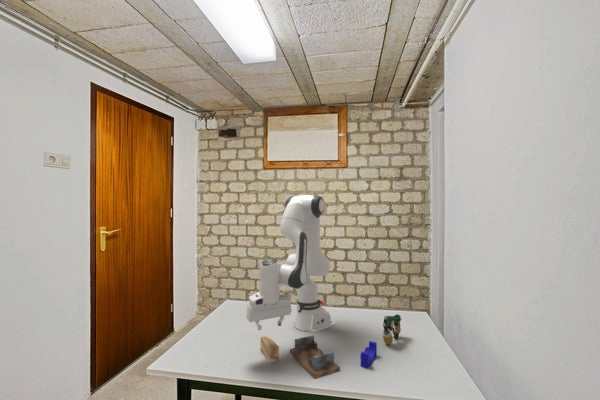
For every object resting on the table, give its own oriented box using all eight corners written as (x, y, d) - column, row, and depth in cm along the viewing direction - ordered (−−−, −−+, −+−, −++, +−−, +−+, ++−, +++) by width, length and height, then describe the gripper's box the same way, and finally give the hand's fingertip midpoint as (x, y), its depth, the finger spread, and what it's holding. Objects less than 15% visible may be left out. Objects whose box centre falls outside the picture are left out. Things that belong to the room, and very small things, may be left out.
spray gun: (403, 336, 151) (404, 307, 150) (388, 350, 138) (388, 319, 137) (395, 333, 154) (395, 305, 152) (379, 347, 141) (379, 316, 140)
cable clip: (366, 353, 135) (366, 340, 135) (376, 356, 133) (376, 342, 133) (357, 366, 125) (357, 351, 125) (367, 369, 122) (367, 354, 122)
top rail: (268, 348, 139) (268, 335, 139) (278, 360, 129) (278, 346, 129) (260, 350, 138) (260, 337, 138) (270, 363, 127) (270, 348, 127)
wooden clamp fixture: (312, 346, 141) (312, 332, 141) (339, 370, 121) (339, 354, 121) (289, 352, 135) (289, 337, 135) (313, 378, 116) (313, 361, 116)
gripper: (287, 291, 140) (287, 320, 141) (245, 297, 131) (245, 329, 131) (293, 295, 135) (293, 325, 135) (249, 302, 126) (249, 335, 126)
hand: (269, 327), depth 133 cm, fingers open, 8 cm apart
